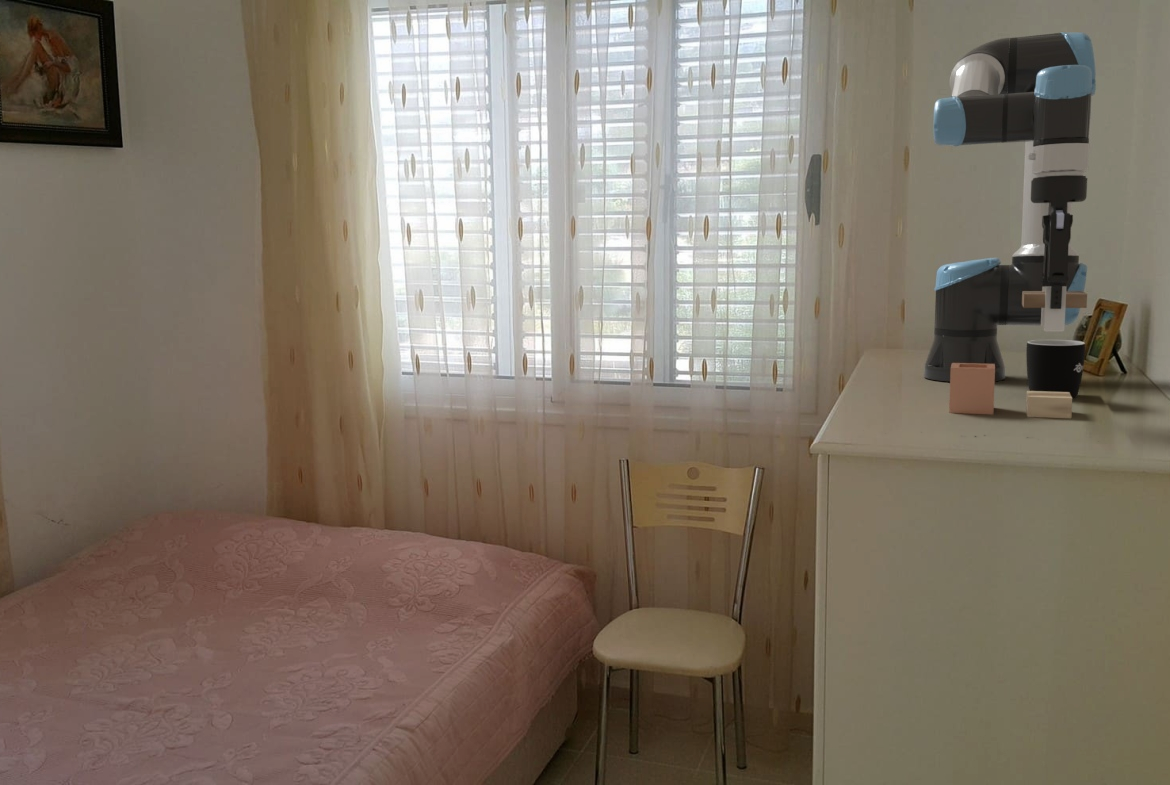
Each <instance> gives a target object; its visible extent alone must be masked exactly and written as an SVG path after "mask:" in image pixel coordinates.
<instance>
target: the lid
mask: <svg viewBox="0 0 1170 785" xmlns="http://www.w3.org/2000/svg"><path fill="white" fill-rule="evenodd" d="M1045 293H1046V291H1022V305H1023V308H1045ZM1087 302H1088V294H1087V293H1086V292H1085V291H1084V292H1083V291H1066V307H1065V308H1080V309H1086V308H1087V306H1088V303H1087Z"/></svg>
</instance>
